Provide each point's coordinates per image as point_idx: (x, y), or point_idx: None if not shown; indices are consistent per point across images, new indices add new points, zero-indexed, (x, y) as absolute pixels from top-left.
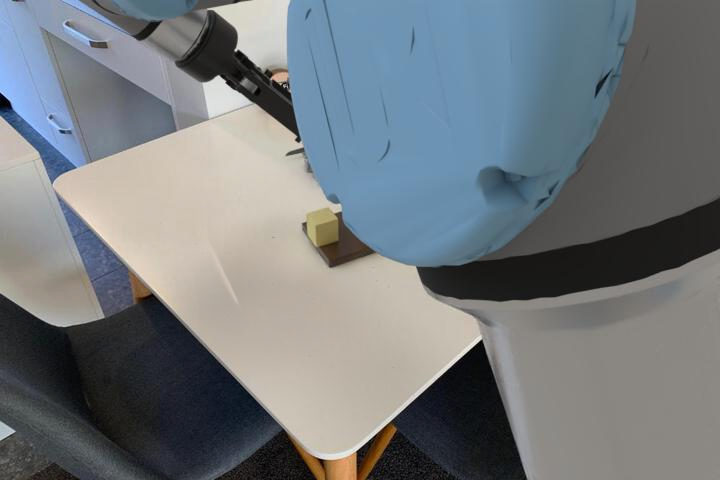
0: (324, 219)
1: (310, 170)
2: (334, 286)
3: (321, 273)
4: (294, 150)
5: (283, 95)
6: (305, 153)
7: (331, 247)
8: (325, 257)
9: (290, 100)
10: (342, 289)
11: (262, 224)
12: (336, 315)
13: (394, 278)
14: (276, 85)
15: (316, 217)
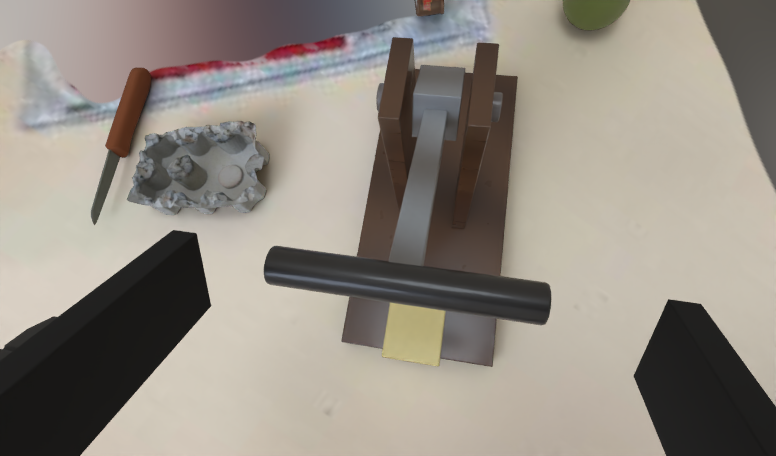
0: (429, 331)
1: (178, 207)
2: (546, 392)
3: (495, 391)
4: (96, 199)
5: (97, 355)
6: (135, 192)
7: (456, 336)
8: (472, 363)
9: (141, 315)
10: (563, 383)
11: (272, 407)
12: (627, 442)
13: (588, 274)
14: (11, 408)
15: (412, 344)
